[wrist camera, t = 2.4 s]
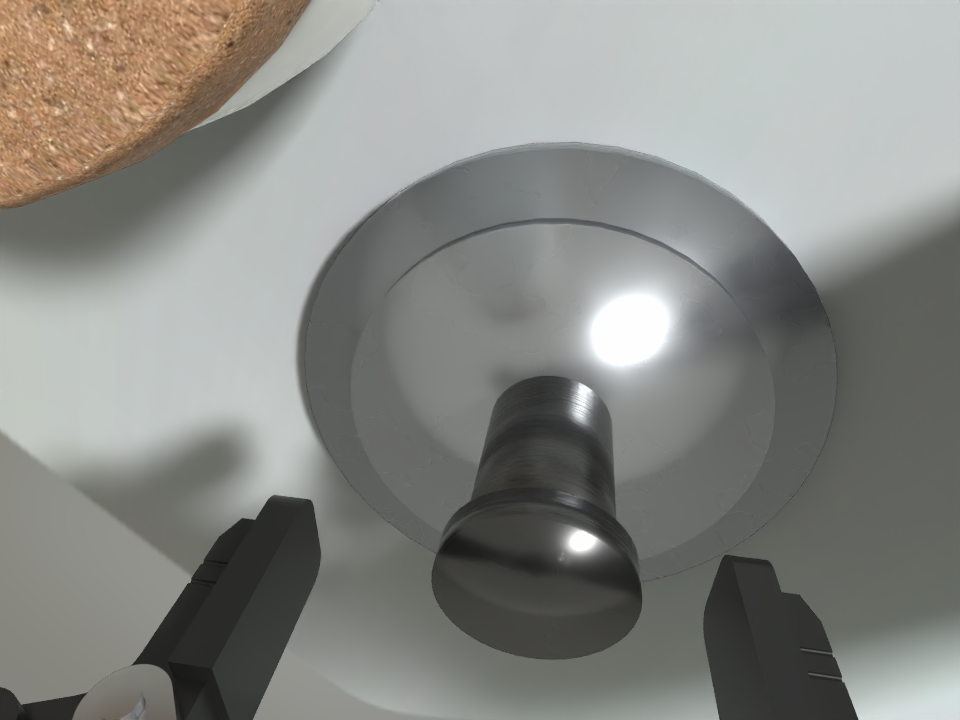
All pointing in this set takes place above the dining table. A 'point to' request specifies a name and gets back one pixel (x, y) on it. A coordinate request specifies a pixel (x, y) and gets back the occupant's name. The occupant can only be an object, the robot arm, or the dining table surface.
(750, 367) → the steel lid
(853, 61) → the dining table surface
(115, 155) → the lidded bowl
